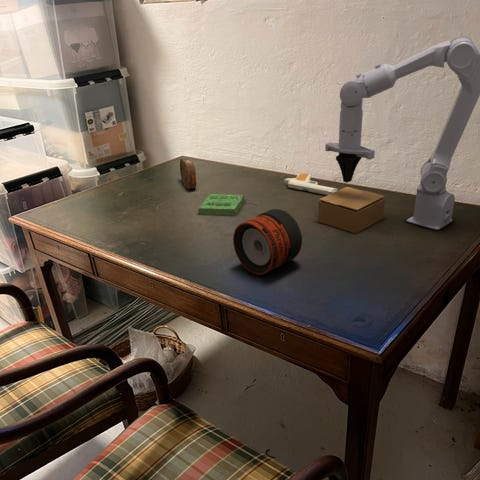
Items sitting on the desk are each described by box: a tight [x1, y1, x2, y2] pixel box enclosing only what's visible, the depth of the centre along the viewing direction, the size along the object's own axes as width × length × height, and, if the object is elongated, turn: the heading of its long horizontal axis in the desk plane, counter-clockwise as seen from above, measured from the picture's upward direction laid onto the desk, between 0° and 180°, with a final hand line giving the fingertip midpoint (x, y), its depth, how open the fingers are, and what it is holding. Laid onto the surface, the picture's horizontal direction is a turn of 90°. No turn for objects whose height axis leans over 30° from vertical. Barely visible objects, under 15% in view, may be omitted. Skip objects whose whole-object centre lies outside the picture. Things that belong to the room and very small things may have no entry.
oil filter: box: [232, 208, 303, 276], centre depth 120 cm, size 13×12×13 cm
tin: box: [179, 158, 197, 190], centre depth 175 cm, size 15×3×8 cm, turn 17°
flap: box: [318, 186, 366, 206], centre depth 142 cm, size 6×13×1 cm, turn 133°
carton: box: [317, 190, 386, 234], centre depth 141 cm, size 13×13×7 cm
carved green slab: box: [197, 193, 245, 216], centre depth 157 cm, size 11×12×2 cm
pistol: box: [283, 172, 339, 196], centre depth 167 cm, size 2×20×11 cm
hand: (347, 181), depth 140 cm, fingers closed
